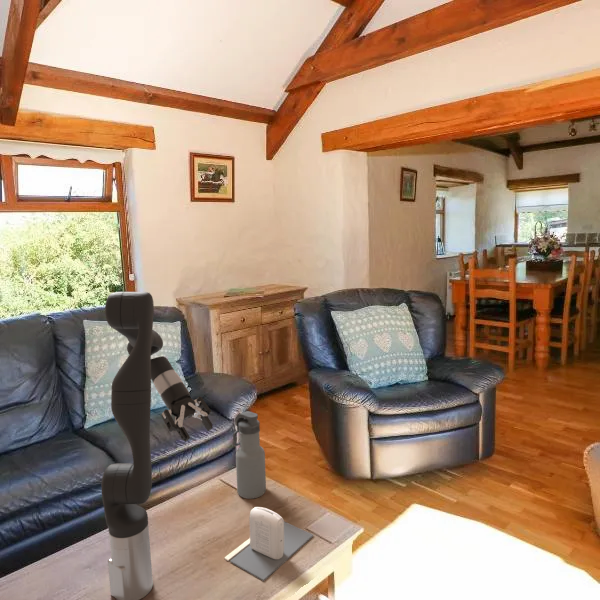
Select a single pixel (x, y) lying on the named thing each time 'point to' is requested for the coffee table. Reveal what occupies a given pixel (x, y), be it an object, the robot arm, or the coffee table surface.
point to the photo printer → (267, 532)
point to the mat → (263, 564)
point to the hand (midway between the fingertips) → (199, 434)
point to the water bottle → (249, 457)
